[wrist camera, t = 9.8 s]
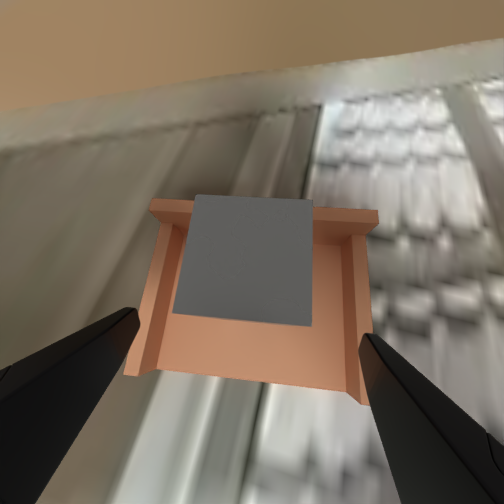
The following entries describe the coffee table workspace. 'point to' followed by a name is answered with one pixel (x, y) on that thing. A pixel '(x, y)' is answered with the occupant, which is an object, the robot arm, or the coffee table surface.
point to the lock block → (248, 261)
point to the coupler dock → (258, 334)
